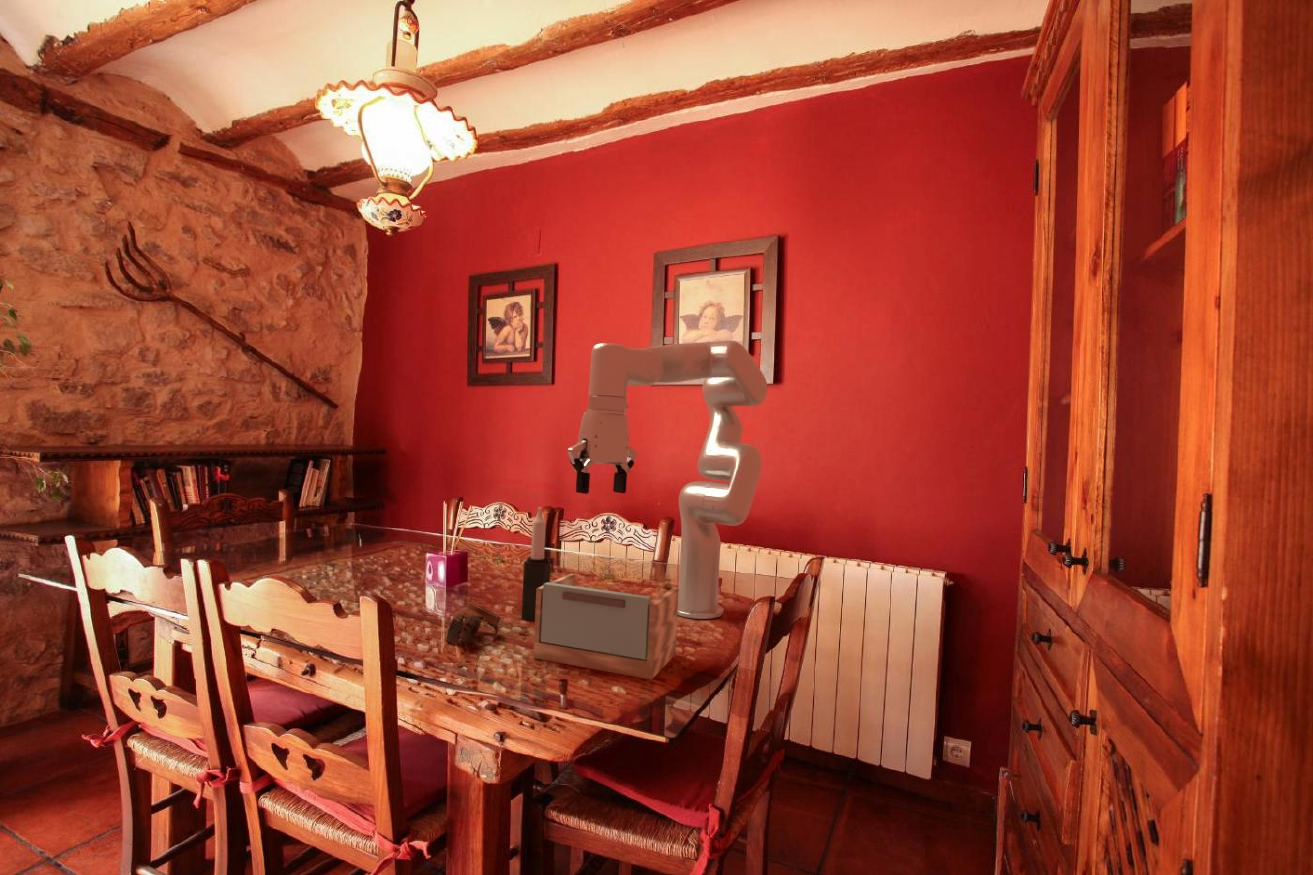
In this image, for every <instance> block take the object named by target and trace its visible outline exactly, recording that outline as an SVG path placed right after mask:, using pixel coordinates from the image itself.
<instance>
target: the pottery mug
mask: <svg viewBox="0 0 1313 875" xmlns="http://www.w3.org/2000/svg"><path fill="white" fill-rule="evenodd" d="M500 619H501V617H500V615H497V614H495V613H494V612H492V611H490V610H488V609H487V608H484V607H483V606H480V605H478V604H476V603H474V602H472V601H471V602H468V604H467V606H465V607H463V608H461V609H459V610H458V611H456V613H455V614H454V616H453V618H452V619H451V622H450V624H449V627H448V629H447V634H446V638H445V640H446V641H448V643H450V644H451V645H454V646H456V645H457V646H458V645H459V641H460V640H461V642H462V643H464V644H470V643H473V641H474V639H475V638H476V637H475V636H476V634H477V633H478V632H479V629H480V628H481V626H482V622H484V623H487V625H489V626H490V627H492V628H493V629H494V630H495V632H494V635H493V639H494V640H496V639H497V637H498V634H499V621H500Z"/></svg>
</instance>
